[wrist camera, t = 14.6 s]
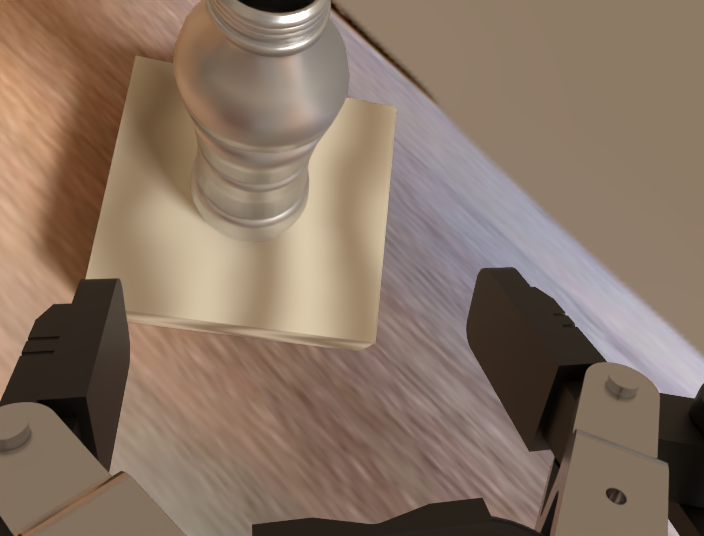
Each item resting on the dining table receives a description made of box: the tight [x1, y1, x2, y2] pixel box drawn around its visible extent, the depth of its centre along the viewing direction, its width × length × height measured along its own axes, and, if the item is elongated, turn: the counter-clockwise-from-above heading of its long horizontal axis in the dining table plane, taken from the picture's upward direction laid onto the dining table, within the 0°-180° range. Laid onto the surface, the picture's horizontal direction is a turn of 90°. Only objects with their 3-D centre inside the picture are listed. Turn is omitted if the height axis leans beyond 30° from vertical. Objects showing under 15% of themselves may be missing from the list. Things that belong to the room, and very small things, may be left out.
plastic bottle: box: [173, 0, 350, 242], centre depth 27 cm, size 6×7×20 cm
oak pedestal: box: [86, 56, 397, 351], centre depth 39 cm, size 17×16×5 cm
